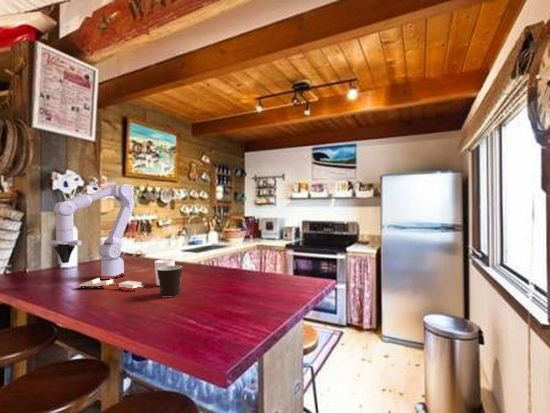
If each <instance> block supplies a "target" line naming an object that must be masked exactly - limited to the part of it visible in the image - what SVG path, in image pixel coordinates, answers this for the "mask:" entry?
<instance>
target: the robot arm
mask: <svg viewBox="0 0 550 413" xmlns="http://www.w3.org/2000/svg"><path fill="white" fill-rule="evenodd" d="M134 195H135V191H134V189H133V188H132V186H131V185H130V184H127V183H125V184H121V185H120V184H119V185H118V184H115V185H113V186H108V187H105V188H103V189H101V190H98V191H96V192H92V193H90V194H85V193H78V194H77V195H76V196H74V197H71V198H69V197H68V198H66V199H65V200H64V201H58V202H57V203H55V205H54V207H53V209H52V210H53V212H54V214H55V217H56V219H55V234H56V235H55V236H56V237H55V238H56V240H53V239H52V240H48V242H47V243H48V246H55V247H54V249H55V251H56V252H57V254H58V256H59V258H60V261H61V264H68V263H69V262H70V259H71V255H72V253H73V251H74V250H75V247H78V246H82V240H78V239H74V229H73V228H74V226H73V219H74V218H73V214H74V213H75V212H77V211H80V210H83V209H85V208H87V207H90V206H91V205H92V202H95V201H98V200H100V199H103V198H106V197H113V198H114V199H115V200H116V201H117V202H118V203H119V204H120V209H119V211H118V213H117V215H116V218H115V221H114V223H113V226H112V228H111V230H110V233H109V235H108V237H107V238H106V239H105V240H104V242H103V244H101V245H100V246H99V248H98V254H99V256H101V258H100V266H101V268H100V269H101V272H100V273H101V277H102V276H116V275H119V274H121V273H124V274H125V261H124V260H123V258H122V257H120V256H121V254H122V246H123V244H122V239H123V238H122V237H123V235H124V233H125V230H126V227H127V225H128V223H129V221H130V217H131V215H132V213H133V210H134V207H135V199H134V197H135V196H134Z"/></svg>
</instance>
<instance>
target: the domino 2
mask: <svg viewBox="0 0 550 413" xmlns="http://www.w3.org/2000/svg"><path fill="white" fill-rule="evenodd" d="M109 284H115V283H114V279H110V280H100V282H98V283H95V284H92V285H89V287H90V286H101V285H109Z"/></svg>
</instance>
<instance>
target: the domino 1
mask: <svg viewBox="0 0 550 413" xmlns="http://www.w3.org/2000/svg"><path fill="white" fill-rule="evenodd" d="M98 282H101V280H100V277H97V278H94V279H91V280H89V281H86V282H85V281H84V282H83V283H81V284H77V285H78V286H86V287H90V285H92V284H95V283H98Z"/></svg>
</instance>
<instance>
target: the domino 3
mask: <svg viewBox="0 0 550 413" xmlns="http://www.w3.org/2000/svg"><path fill="white" fill-rule="evenodd" d="M118 284H119V287H126V288H132V289H133V288H137V287H140V286H143V284H142V281H137V280H136V281H135V280H126V281H123V282H119V283H118Z"/></svg>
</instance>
